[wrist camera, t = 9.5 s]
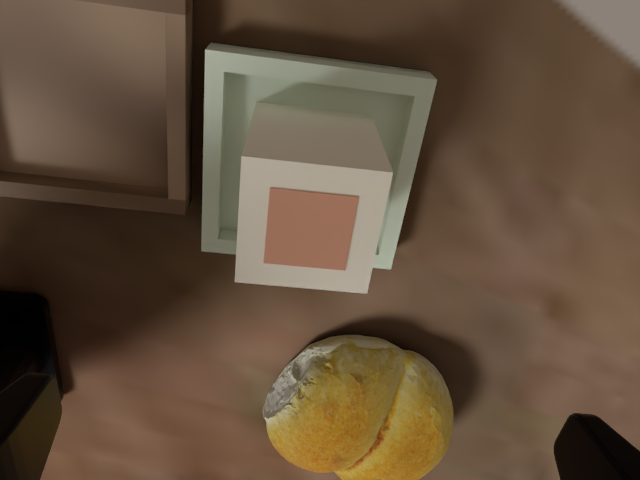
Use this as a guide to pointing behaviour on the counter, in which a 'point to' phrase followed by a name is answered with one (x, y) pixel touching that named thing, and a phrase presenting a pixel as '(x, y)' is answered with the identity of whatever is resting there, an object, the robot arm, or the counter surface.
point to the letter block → (310, 199)
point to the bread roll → (360, 410)
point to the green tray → (309, 92)
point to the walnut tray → (97, 102)
